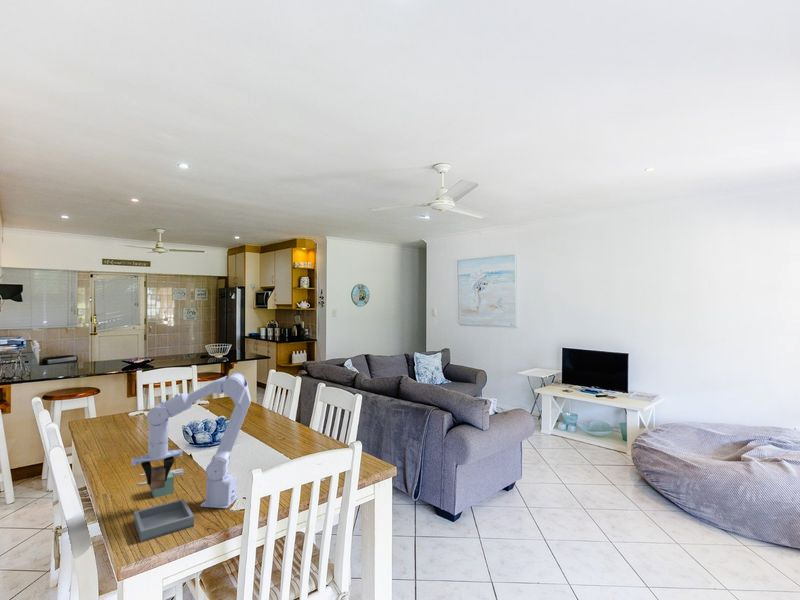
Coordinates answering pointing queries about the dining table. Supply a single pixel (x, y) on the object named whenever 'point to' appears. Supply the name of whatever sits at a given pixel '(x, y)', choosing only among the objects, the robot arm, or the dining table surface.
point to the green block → (167, 489)
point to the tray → (163, 519)
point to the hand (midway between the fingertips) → (157, 482)
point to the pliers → (174, 472)
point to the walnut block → (157, 477)
